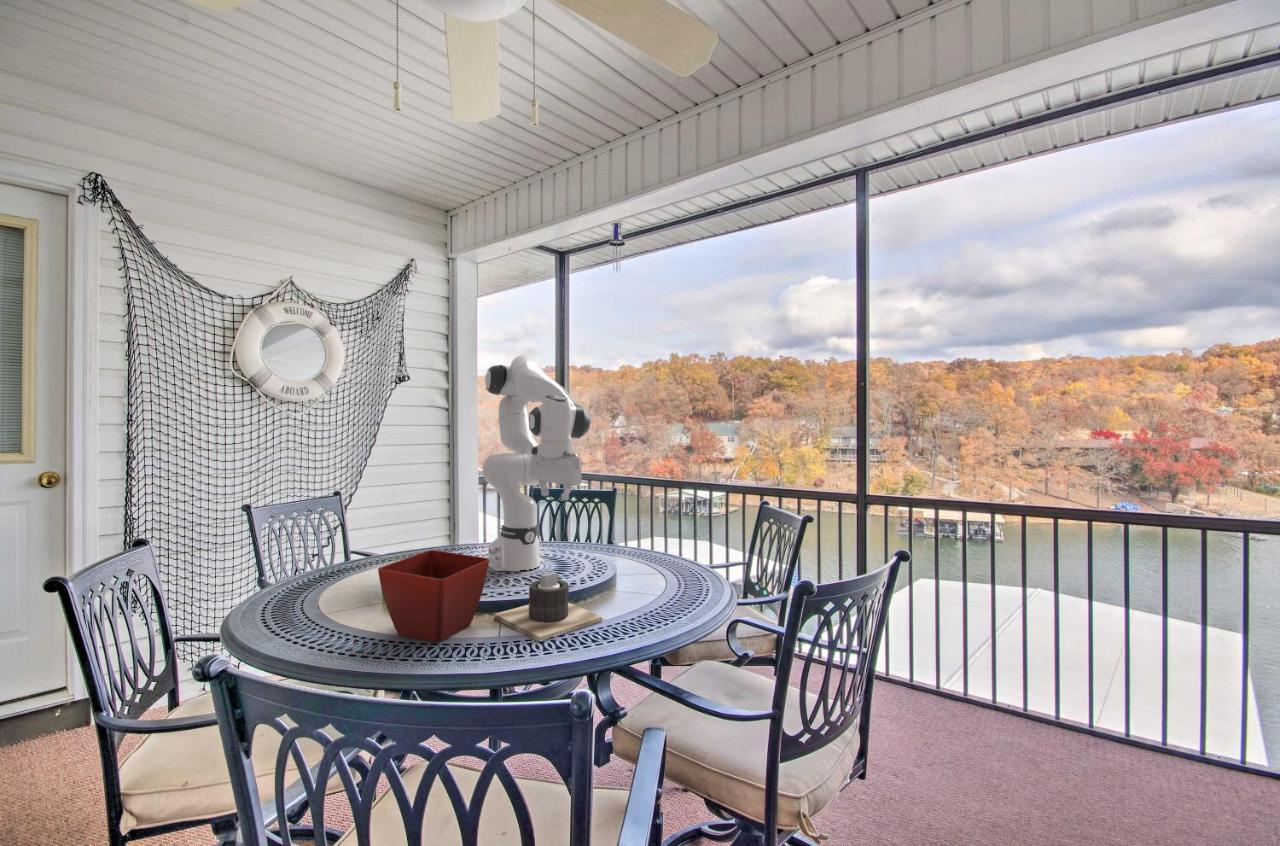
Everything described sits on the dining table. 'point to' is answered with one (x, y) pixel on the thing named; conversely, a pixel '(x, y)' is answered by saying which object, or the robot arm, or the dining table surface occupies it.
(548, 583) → the white short cylinder
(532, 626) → the stand
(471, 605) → the plant pot
